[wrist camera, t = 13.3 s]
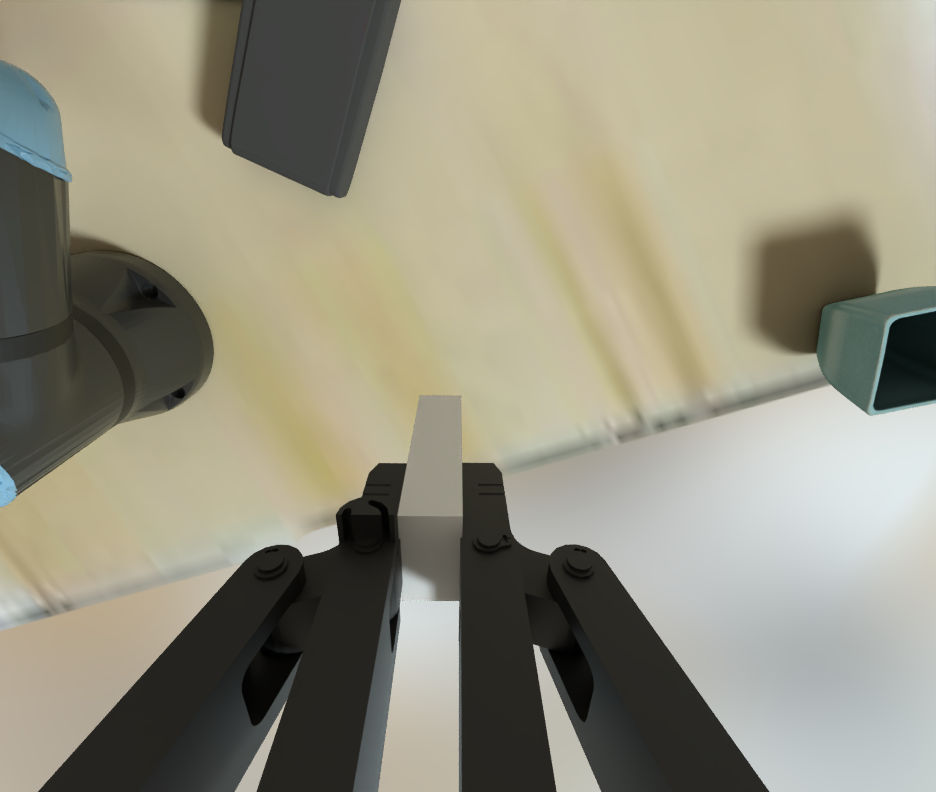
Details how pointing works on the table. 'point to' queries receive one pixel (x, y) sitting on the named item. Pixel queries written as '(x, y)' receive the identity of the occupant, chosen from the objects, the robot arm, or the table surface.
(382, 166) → the table surface
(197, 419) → the table surface
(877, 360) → the flower pot
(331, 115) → the card reader
